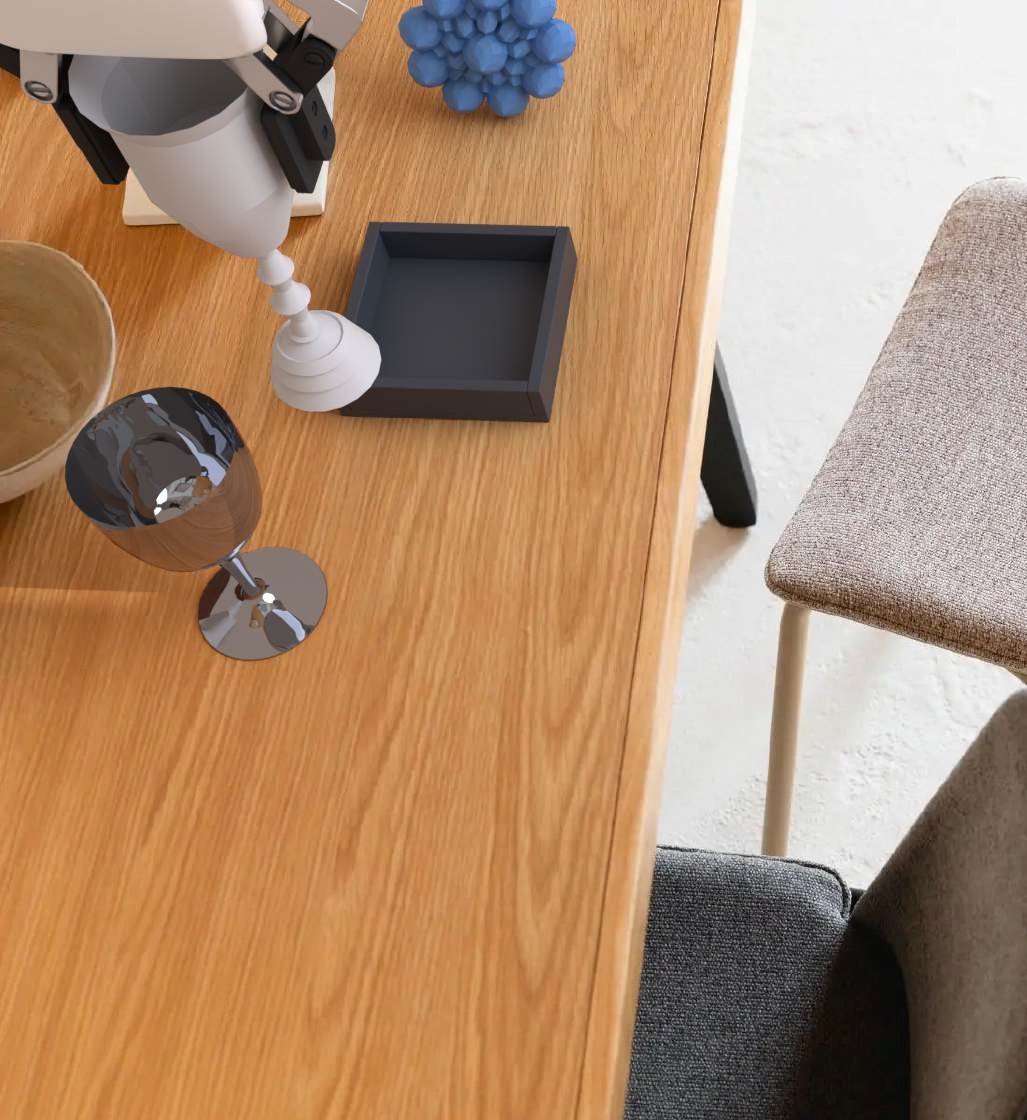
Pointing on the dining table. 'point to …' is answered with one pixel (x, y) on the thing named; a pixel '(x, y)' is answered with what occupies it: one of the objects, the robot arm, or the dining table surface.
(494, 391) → the tray
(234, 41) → the robot arm
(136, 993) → the dining table surface
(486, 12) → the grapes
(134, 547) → the wine glass
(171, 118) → the chalice
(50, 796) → the dining table surface
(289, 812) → the dining table surface
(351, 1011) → the dining table surface
